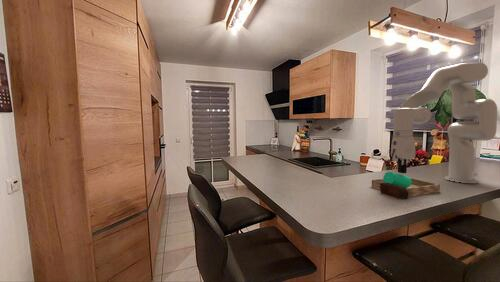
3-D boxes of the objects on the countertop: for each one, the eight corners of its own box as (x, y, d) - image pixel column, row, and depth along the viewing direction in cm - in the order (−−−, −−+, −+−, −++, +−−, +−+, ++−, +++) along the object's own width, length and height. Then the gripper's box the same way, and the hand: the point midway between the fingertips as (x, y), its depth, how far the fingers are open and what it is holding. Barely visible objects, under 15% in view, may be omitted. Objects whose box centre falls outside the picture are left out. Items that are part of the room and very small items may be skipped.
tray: (403, 182, 112) (403, 176, 111) (439, 191, 95) (439, 184, 95) (371, 186, 106) (371, 180, 106) (404, 197, 90) (404, 189, 90)
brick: (379, 192, 97) (379, 182, 97) (386, 191, 98) (386, 182, 98) (401, 200, 87) (401, 189, 87) (408, 199, 88) (409, 188, 88)
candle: (414, 179, 97) (394, 174, 94) (408, 190, 99) (388, 186, 96) (403, 173, 103) (384, 168, 100) (397, 184, 104) (378, 179, 101)
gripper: (398, 135, 93) (397, 175, 94) (423, 134, 97) (421, 173, 98) (383, 134, 100) (382, 172, 102) (407, 133, 104) (406, 170, 105)
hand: (401, 172), depth 100 cm, fingers closed
